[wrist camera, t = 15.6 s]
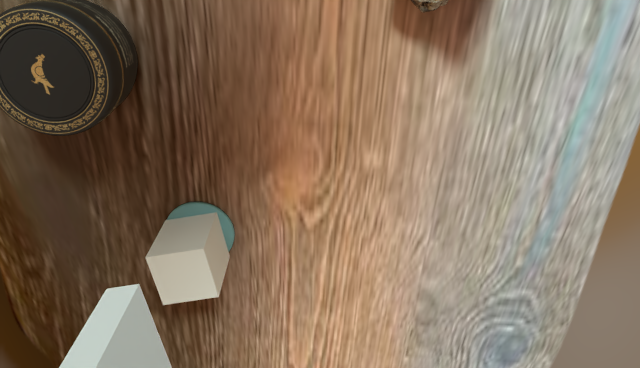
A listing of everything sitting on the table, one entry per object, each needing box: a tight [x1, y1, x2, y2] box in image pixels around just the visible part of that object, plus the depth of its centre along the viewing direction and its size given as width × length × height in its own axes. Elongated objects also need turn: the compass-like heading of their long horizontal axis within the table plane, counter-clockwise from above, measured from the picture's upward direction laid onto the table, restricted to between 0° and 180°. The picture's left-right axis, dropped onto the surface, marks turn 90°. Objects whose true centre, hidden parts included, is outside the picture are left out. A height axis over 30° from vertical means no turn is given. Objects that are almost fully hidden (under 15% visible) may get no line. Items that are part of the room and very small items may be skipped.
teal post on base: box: [167, 202, 235, 252], centre depth 50 cm, size 7×7×7 cm
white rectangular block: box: [145, 212, 230, 305], centre depth 49 cm, size 5×5×7 cm
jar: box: [0, 0, 138, 136], centre depth 42 cm, size 10×10×8 cm
